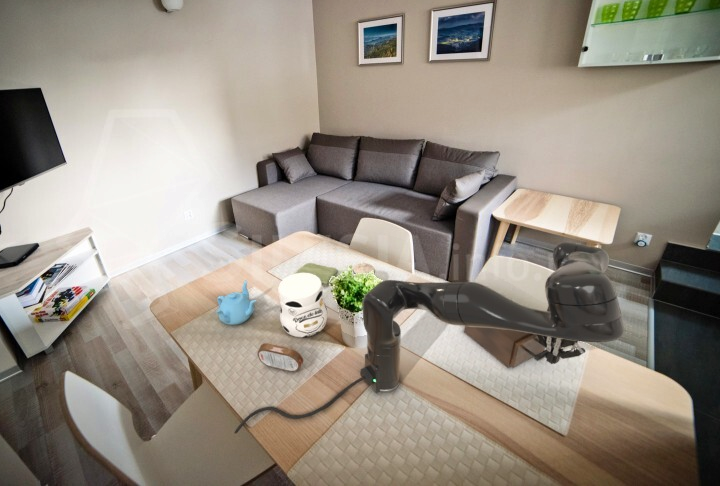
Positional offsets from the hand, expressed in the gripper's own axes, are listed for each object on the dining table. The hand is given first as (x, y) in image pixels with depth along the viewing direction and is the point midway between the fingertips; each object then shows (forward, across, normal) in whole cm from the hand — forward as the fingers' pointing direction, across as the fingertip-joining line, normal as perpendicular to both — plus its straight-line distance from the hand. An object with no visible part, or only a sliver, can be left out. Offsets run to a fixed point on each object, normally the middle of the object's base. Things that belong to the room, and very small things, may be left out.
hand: (551, 361), depth 92 cm
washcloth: (+4, -80, -38) cm, 89 cm away
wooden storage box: (+5, -15, 0) cm, 16 cm away
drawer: (+4, -11, 0) cm, 12 cm away
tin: (+5, -40, -68) cm, 79 cm away
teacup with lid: (+5, -63, -22) cm, 67 cm away
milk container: (+5, -54, -54) cm, 77 cm away
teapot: (+5, -71, -75) cm, 104 cm away
